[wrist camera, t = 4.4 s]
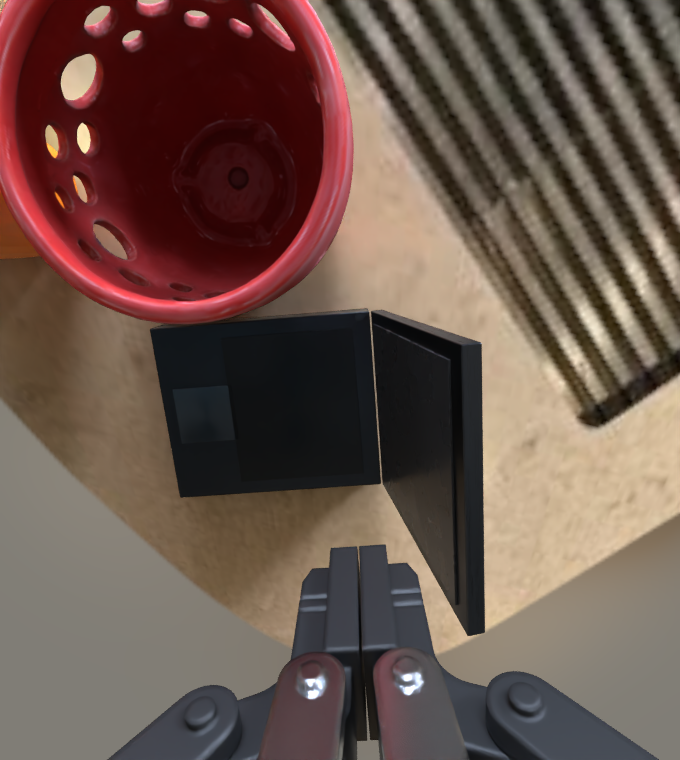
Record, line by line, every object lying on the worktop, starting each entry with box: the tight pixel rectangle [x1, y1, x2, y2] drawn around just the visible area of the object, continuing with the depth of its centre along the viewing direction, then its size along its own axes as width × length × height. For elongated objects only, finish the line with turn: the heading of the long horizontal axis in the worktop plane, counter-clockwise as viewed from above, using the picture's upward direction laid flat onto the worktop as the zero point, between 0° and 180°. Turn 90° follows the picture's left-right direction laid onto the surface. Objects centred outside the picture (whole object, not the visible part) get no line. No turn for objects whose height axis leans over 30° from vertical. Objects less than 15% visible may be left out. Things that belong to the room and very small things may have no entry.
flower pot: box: [0, 0, 354, 324], centre depth 22 cm, size 13×13×12 cm
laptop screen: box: [371, 310, 485, 636], centre depth 22 cm, size 13×11×1 cm
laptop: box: [150, 308, 381, 498], centre depth 30 cm, size 13×11×2 cm
